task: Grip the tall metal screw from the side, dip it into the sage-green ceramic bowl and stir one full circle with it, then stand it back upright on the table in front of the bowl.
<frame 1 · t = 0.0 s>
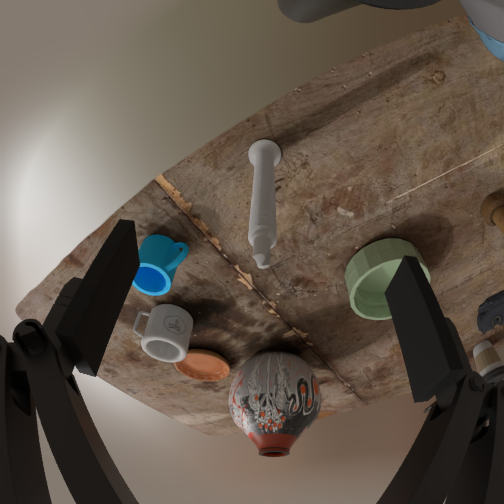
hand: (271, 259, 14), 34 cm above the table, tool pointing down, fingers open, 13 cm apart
saucer: (203, 359, 85), on the table
coffee cup: (481, 345, 80), on the table
mug 2: (167, 314, 72), on the table
mug: (168, 247, 59), on the table
bowl: (382, 267, 59), on the table
mortar and pestle: (491, 206, 48), on the table
screw: (264, 153, 46), on the table
vase: (275, 357, 82), on the table
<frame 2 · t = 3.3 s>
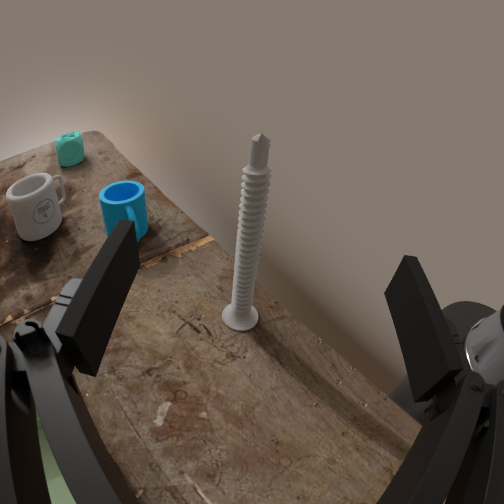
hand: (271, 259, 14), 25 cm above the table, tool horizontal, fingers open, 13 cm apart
mug 2: (45, 223, 54), on the table
mug: (130, 235, 54), on the table
bowl: (54, 480, 21), on the table
decorative dice: (72, 161, 77), on the table
screw: (240, 317, 42), on the table
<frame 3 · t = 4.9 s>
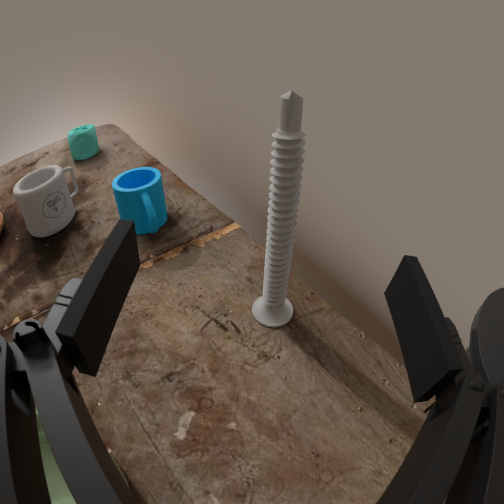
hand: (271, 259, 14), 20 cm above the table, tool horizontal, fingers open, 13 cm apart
mug 2: (57, 218, 52), on the table
mug: (148, 226, 50), on the table
bowl: (62, 498, 18), on the table
decorative dice: (86, 155, 75), on the table
screw: (272, 311, 38), on the table
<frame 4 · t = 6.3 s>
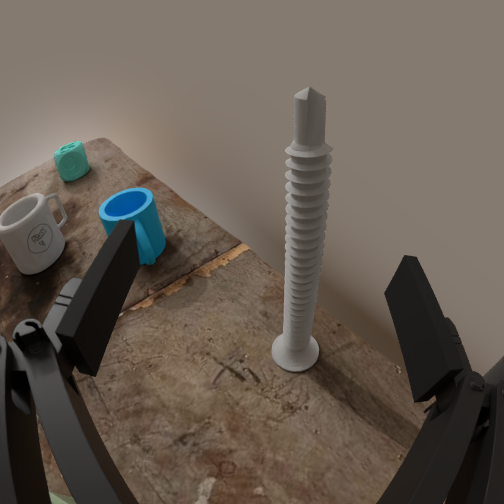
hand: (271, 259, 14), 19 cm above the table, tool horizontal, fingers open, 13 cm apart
mug 2: (47, 251, 47), on the table
mug: (145, 255, 44), on the table
decorative dice: (76, 174, 70), on the table
screw: (295, 352, 31), on the table
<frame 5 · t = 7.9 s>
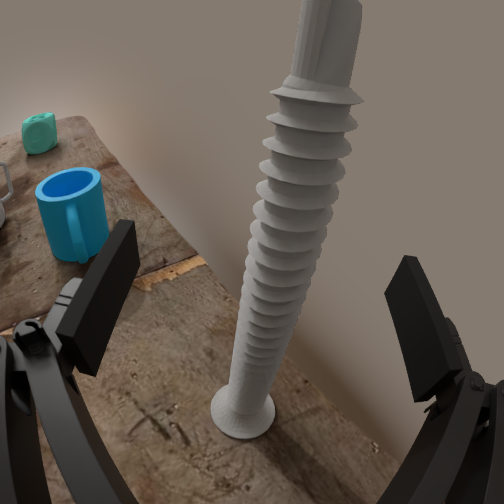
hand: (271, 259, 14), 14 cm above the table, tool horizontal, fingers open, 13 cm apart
mug: (82, 250, 34), on the table
decorative dice: (42, 148, 58), on the table
screw: (242, 411, 22), on the table
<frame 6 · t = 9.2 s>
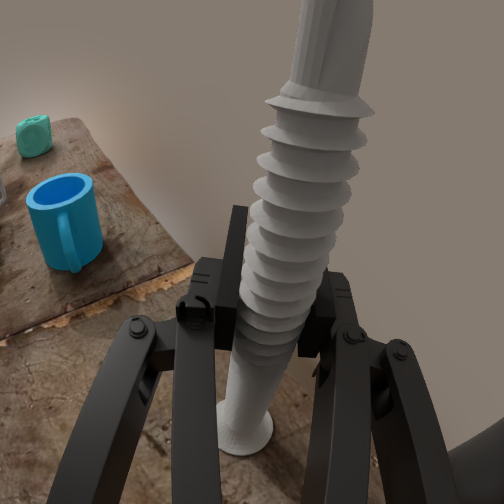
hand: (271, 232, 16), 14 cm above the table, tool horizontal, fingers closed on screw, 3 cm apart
mug: (75, 258, 32), on the table
decorative dice: (36, 152, 56), on the table
screw: (239, 427, 21), on the table, touching gripper
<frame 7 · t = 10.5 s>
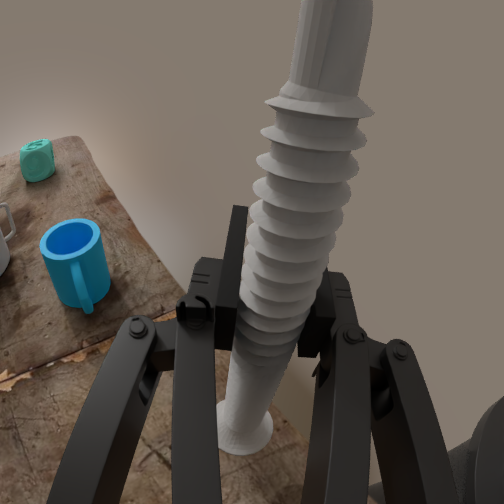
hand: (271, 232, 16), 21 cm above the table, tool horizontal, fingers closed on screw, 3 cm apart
mug: (86, 295, 36), on the table
decorative dice: (40, 175, 60), on the table
screw: (239, 427, 21), point 7 cm above the table, touching gripper
when the fingers open (14 cm above the table, at t = 34.5 s): screw stays where it is, on the table.
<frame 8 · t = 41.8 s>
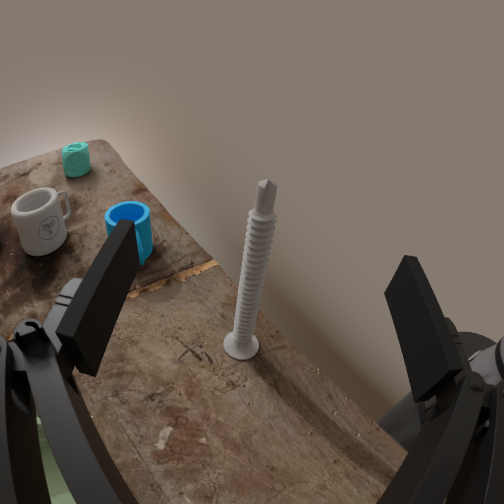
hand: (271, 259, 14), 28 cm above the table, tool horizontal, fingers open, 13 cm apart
mug 2: (50, 238, 55), on the table
mug: (134, 256, 54), on the table
bowl: (59, 495, 21), on the table
decorative dice: (78, 172, 78), on the table
screw: (240, 346, 43), on the table
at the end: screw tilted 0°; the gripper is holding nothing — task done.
